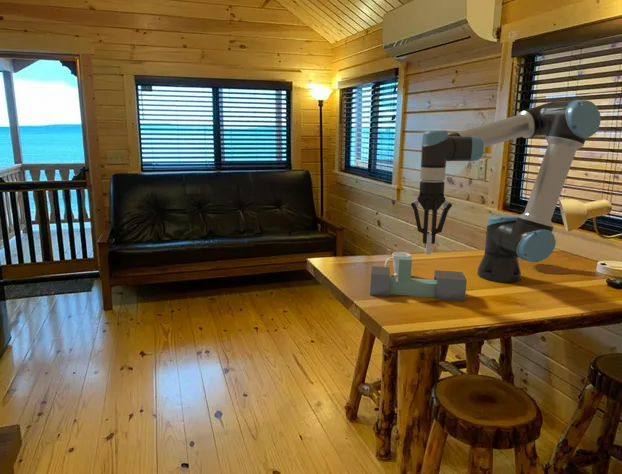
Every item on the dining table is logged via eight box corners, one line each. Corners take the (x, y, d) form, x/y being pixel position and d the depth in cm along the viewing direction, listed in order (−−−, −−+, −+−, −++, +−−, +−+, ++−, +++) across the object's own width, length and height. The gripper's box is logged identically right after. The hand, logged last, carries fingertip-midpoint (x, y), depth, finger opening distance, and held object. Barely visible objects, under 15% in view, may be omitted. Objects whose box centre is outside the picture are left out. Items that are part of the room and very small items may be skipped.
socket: (388, 287, 162) (389, 267, 161) (388, 296, 154) (389, 275, 152) (370, 286, 163) (371, 266, 162) (370, 294, 155) (371, 274, 153)
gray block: (460, 292, 159) (462, 271, 157) (464, 301, 150) (466, 280, 149) (433, 290, 160) (434, 270, 158) (435, 299, 152) (437, 278, 150)
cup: (413, 277, 174) (414, 256, 172) (388, 279, 171) (390, 257, 169) (403, 271, 181) (405, 251, 179) (380, 273, 178) (381, 252, 176)
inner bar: (445, 293, 157) (448, 258, 155) (446, 298, 153) (450, 262, 150) (381, 289, 161) (383, 255, 158) (381, 293, 156) (383, 258, 153)
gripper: (452, 179, 150) (447, 251, 156) (410, 179, 152) (407, 249, 158) (455, 182, 143) (450, 257, 149) (411, 181, 145) (408, 255, 151)
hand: (428, 253), depth 153 cm, fingers closed
